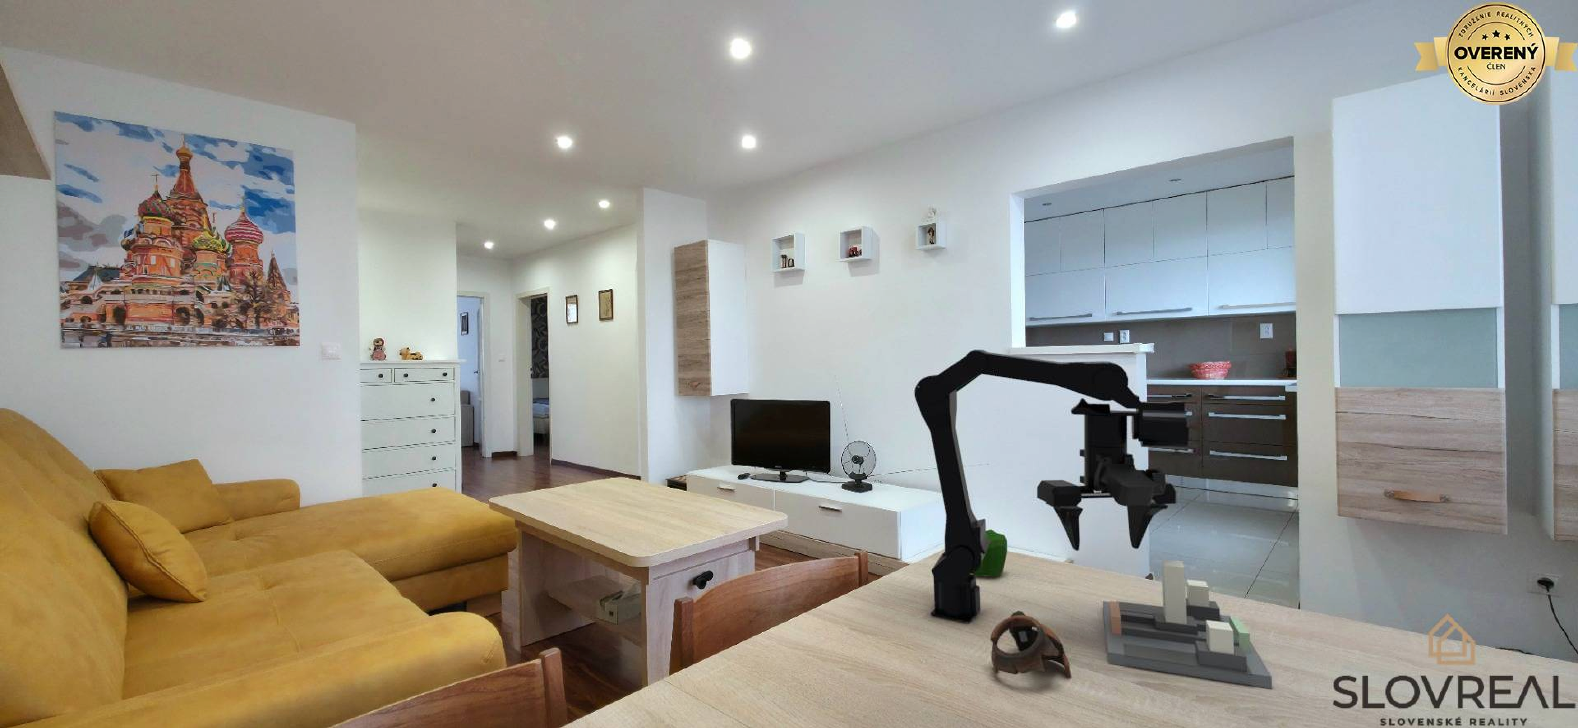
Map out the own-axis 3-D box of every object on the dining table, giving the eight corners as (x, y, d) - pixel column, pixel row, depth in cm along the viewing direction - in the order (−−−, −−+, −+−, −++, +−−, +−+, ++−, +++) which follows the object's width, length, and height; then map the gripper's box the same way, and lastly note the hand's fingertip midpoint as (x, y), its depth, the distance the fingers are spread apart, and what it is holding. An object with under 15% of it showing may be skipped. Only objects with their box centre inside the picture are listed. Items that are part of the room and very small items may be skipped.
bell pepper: (1005, 567, 123) (1003, 517, 123) (1010, 582, 115) (1008, 528, 115) (962, 565, 125) (960, 516, 125) (963, 579, 117) (962, 527, 117)
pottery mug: (1088, 693, 77) (1061, 644, 76) (1018, 720, 79) (991, 673, 77) (1054, 629, 89) (1030, 585, 87) (994, 654, 91) (969, 611, 89)
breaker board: (1108, 664, 83) (1106, 616, 83) (1102, 609, 101) (1101, 569, 101) (1272, 690, 76) (1271, 637, 76) (1235, 625, 94) (1234, 583, 94)
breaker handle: (1156, 635, 88) (1154, 565, 88) (1153, 625, 91) (1151, 557, 91) (1198, 640, 86) (1195, 569, 86) (1193, 630, 89) (1191, 561, 89)
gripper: (1073, 455, 83) (1073, 569, 83) (1204, 452, 85) (1204, 565, 85) (1035, 443, 94) (1035, 544, 95) (1151, 441, 96) (1151, 541, 96)
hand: (1105, 548), depth 92 cm, fingers open, 9 cm apart
